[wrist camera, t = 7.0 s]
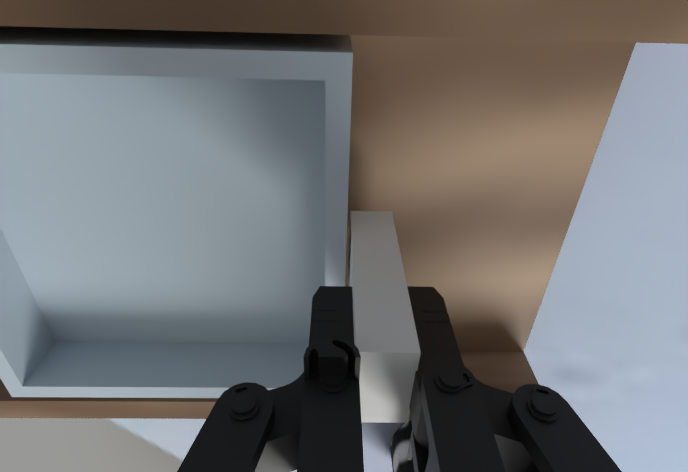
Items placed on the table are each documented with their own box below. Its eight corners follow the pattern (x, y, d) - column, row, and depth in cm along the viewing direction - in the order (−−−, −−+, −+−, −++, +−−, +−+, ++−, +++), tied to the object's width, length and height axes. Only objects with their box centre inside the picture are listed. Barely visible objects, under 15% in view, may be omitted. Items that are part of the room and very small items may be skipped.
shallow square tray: (-107, 22, 13) (-212, 39, 11) (350, 34, 14) (352, 52, 11) (51, 343, 21) (11, 397, 18) (340, 346, 21) (341, 398, 19)
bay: (-157, -56, 13) (-350, -62, 10) (633, -33, 14) (742, -29, 10) (46, 347, 23) (-10, 422, 19) (506, 350, 24) (537, 424, 20)
